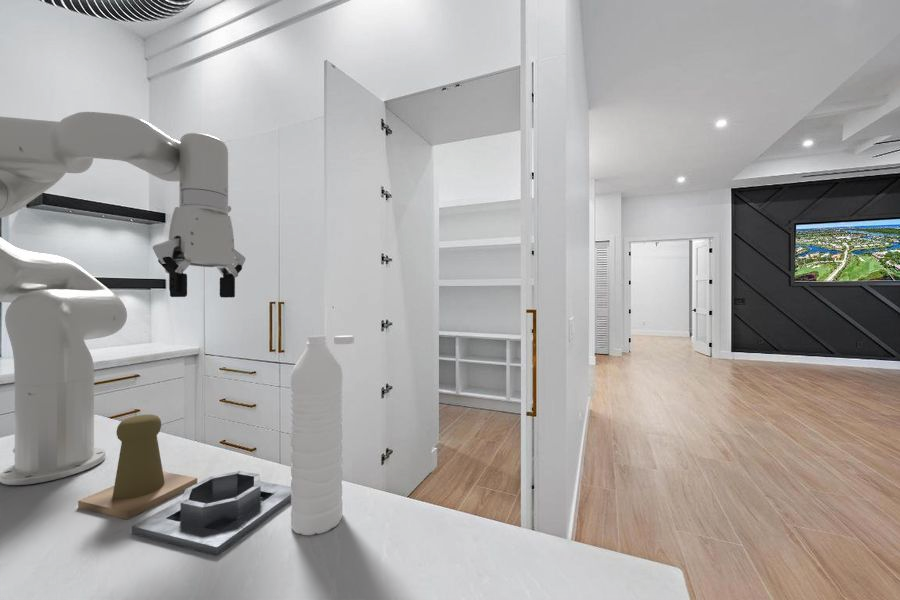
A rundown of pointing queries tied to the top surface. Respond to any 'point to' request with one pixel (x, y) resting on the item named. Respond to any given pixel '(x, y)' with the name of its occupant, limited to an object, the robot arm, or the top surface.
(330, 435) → the water bottle
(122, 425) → the cork
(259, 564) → the top surface
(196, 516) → the grey octagonal holder
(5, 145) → the robot arm
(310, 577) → the top surface
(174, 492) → the coaster board
